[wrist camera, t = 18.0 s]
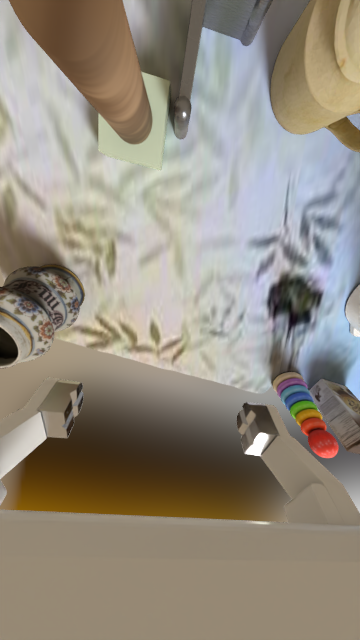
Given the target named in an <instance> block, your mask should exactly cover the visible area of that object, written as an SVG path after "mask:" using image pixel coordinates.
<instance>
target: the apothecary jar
mask: <svg viewBox="0 0 360 640" xmlns="http://www.w3.org/2000/svg"><path fill="white" fill-rule="evenodd" d="M84 296H85V293H84V288H83V286H82V284H81V282H80V280H79V279H78V278H77V277H76V276H75V274H73V273H72V272H71V271H69V270H68V269H66V268H64V267H61V266H58V265H44V266H41V267H24V268H21V269H18V270H16V271H14V272H12V273H11V274H10V275H9V276H8V277H7V279H6V280H5V282H4V286H3V287H0V368H8V367H12V366H14V365H15V364H17V363H18V362H26V361H30V360H33V359H36V358H38V357H40V356H42V355H43V354H45V353H46V352H47V350H49V348H50V347H51V345H52V343H53V339H54V332H56V331H61V330H64V329H66V328H68V327H69V326H71V325H72V324H73V323H74V322H75V320H76V319H77V317H78V315H79V310H80V306H81V304H82V303H83V301H84Z"/></svg>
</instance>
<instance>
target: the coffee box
mask: <svg viewBox="0 0 360 640" xmlns="http://www.w3.org/2000/svg"><path fill="white" fill-rule="evenodd" d="M309 392H310V395H311V396H312V398H313V400H314V403H315V404H316V406H317V407H318V409H319V410H320V412H321V413H322V415H323V416H324V418H325V419H326V421H327V422H328V424H329V425H330V426H331V428H332V430H333V431H334V433H335V434H336V435H337V437H338V438H339V440H340V441H341V443H342V444H343V446H344V447H345V449H346V450H347V451H348V452H352V453H357V454H360V401H359V400H358V399H357V398H356V397H355V396H354V395H353V393H352V392H351V391H350V390H349V389H348V388H347V387H346V386H344V385H341V384H337V383H334V382H331V381H328V380H325V379H320V380H319V381H318V382H317V383H316V384H315V385H314V386H313V387H312V388H311V389H310V390H309Z"/></svg>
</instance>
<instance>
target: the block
mask: <svg viewBox="0 0 360 640" xmlns="http://www.w3.org/2000/svg"><path fill="white" fill-rule="evenodd" d="M141 73H142V76H143V80H144V84H145V88H146V92H147V95H148V99H149V103H150V107H151V111H152V117H153V123H152V129H151V132H150V134H149V136H148V137H147V139H146V140H145V141H144V142H142V143H140V144H136V145H133V144H129V143H127V142H125V141H124V140H122V139H121V138H120V136H119V135H118V134H117V133H116V132H115V131H114V130H113V129H112V127H111V126H110V125H109V124H108V123H107V122H106V121H105V119H104V118H103V117H102V116H101V115H100V114H99V113H98V151H100V152H101V153H103V154H104V155H106V156H107V157H111V158H115V159H119V160H123V161H126V162H130V163H134V164H138V165H142V166H146V167H150V168H153V169H157V170H161V169H162V161H163V153H164V145H165V137H166V130H167V122H168V114H169V106H170V98H171V91H170V81H169V80H166V79H163V78H160V77H157V76H154V75H150V74H147V73H144V72H141Z"/></svg>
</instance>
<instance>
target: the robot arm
mask: <svg viewBox="0 0 360 640" xmlns="http://www.w3.org/2000/svg"><path fill="white" fill-rule="evenodd" d="M345 313H346V317H347V320H348V321H349V323H350V333H351V334H352V335H354V336H357V337H360V285H359V286H358V287H357V288H356V289H355V290H354V291H353V293H352V294H351V296H350V297H349V299H348V302H347V305H346V310H345ZM82 388H83V385H82V383H81V382H75V381H67V380H61V379H53V378H47V379H46V380H44V381H43V383H42V384H41V385H40V386H39V388H38V389H37V391H36V392H35V393H34V395H33V396H32V397H31V399H30V400H29V401H28V403H27V404H26V405H25V407H24V408H23V410H21V409H18V410H17V411H15V412H13V413H12V414H10V415H8V416H7V417H5V418H4V419H2V420H0V479H1V478H2V477H3V476H4V475H5V474H6V473H8V472H9V471H10V470H11V469H12V468H13V467H14V466H15V465H17V464H18V463H19V462H20V461H21V460H22V459H23V458H25V457H26V456H27V455H28V454H29V453H30V452H31V451H33V450H34V449H35V448H36V447H37V446H38V445H39V444H41V443H42V442H43V441H44V440H45V439H46V438H47V437H59V438H68V436H69V434H70V431H71V429H72V427H73V425H74V417H75V416H77V415H78V414H79V412H80V409H81V407H82V403H83V393H82V392H81V390H82ZM242 407H243V410H241V411H240V412H239V413H238V415H237V428H238V431H239V432H240V433H241V434H242V437H241V443H242V446H243V450H244V453H245V454H252V455H260V456H261V458H262V459H263V461H264V462H265V463H266V465H267V466H268V467H269V469H270V470H271V472H272V473H273V474H274V475H275V477H276V478H277V480H278V481H279V482H280V484H281V485H282V487H283V488H284V489H285V491H286V492H287V494H288V495H289V496H290V498H291V499H292V500H290V501H289V502H288V503H287V504H285V506H284V510H285V513H286V516H287V519H288V522H289V523H287V522H265V521H243V520H241V521H240V520H220V519H198V518H175V517H153V516H130V515H108V514H106V515H105V514H85V513H63V512H61V513H60V512H40V511H18V510H16V511H15V510H0V640H360V513H359V511H358V510H357V508H356V506H355V505H354V503H353V501H352V500H351V498H350V496H349V495H348V493H347V491H346V489H345V488H344V486H343V485H342V484H341V483H340V482H339V481H338V480H337V479H336V478H335V477H334V476H333V475H332V474H331V473H330V472H329V471H328V470H327V469H326V468H325V467H324V466H323V465H322V464H321V463H319V461H317V460H316V459H315V458H314V457H313V456H312V455H311V454H310V453H309V452H308V451H307V450H306V449H305V448H304V447H303V446H302V445H301V444H300V443H299V442H297V440H295V439H294V438H293V437H290V435H289V433H288V431H287V429H286V427H285V425H284V423H283V421H282V419H281V417H280V415H279V413H278V411H277V409H276V407H275V406H274V405H266V404H258V403H250V402H246V403H244V404H243V406H242ZM5 495H6V489H5V487H4V485H3V483H2V482H1V480H0V504H1V502H2V501H3V499H4V497H5Z"/></svg>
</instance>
